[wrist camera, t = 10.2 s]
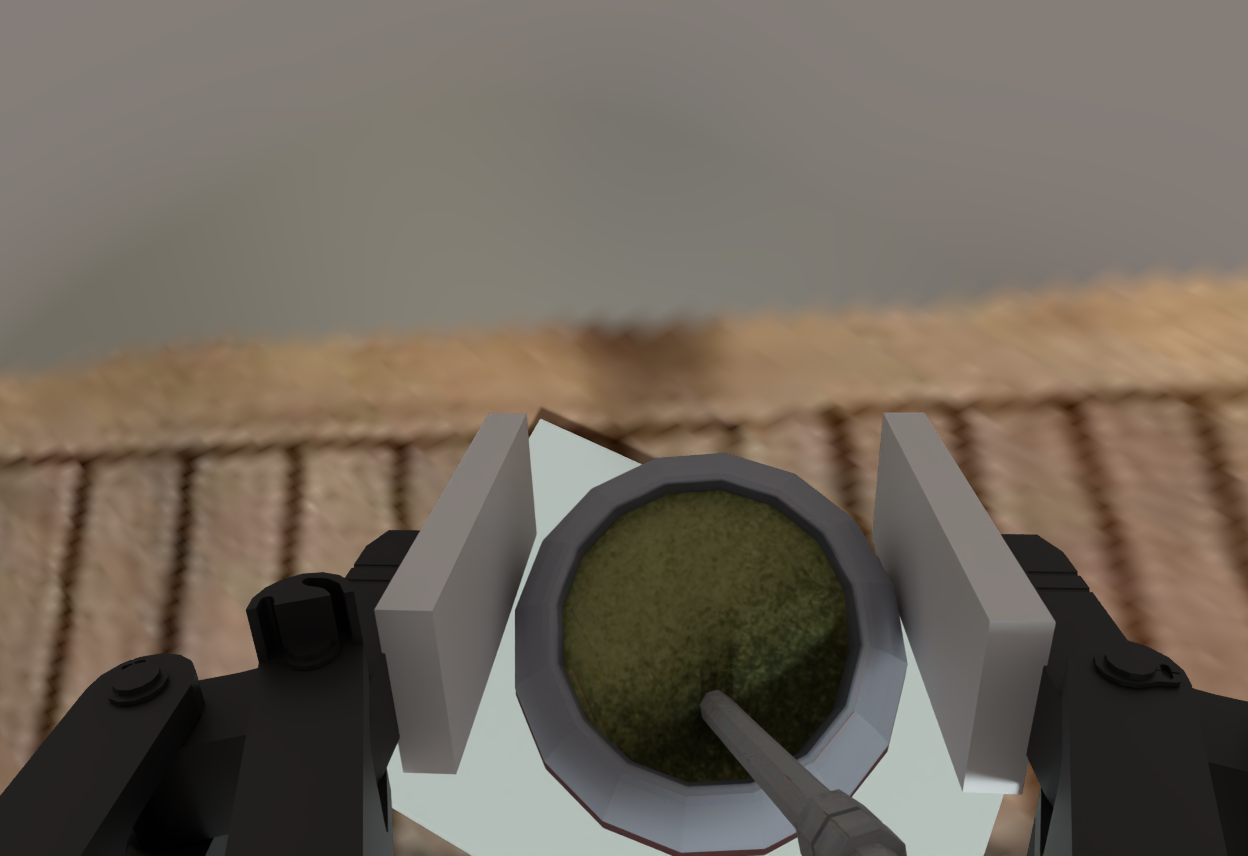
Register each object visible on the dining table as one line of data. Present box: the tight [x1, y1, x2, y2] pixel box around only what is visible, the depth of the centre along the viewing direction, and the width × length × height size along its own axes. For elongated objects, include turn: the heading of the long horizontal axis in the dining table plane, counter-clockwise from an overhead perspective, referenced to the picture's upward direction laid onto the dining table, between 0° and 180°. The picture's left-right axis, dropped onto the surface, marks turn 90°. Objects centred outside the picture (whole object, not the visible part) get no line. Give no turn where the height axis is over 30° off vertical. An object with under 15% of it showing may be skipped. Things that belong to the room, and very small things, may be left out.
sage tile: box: [387, 419, 1004, 856], centre depth 33 cm, size 22×16×1 cm
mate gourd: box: [515, 453, 908, 856], centre depth 14 cm, size 8×8×15 cm
